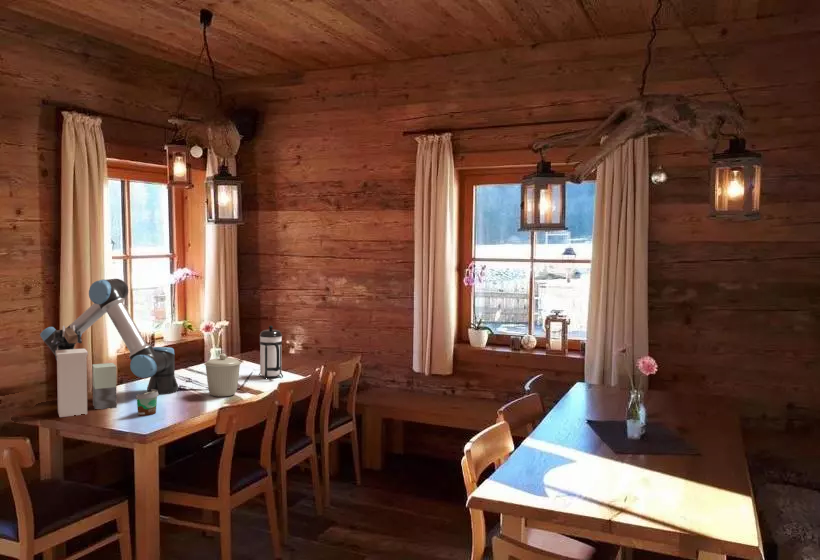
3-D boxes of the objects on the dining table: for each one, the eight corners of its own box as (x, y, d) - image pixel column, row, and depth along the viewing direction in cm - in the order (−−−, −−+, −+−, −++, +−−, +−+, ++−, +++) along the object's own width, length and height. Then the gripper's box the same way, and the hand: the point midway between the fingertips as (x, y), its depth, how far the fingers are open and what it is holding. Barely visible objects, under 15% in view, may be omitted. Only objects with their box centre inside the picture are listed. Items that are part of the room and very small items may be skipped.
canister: (240, 398, 332) (240, 356, 331) (202, 399, 328) (202, 357, 327) (241, 390, 350) (241, 350, 349) (205, 391, 346) (205, 351, 345)
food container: (148, 417, 293) (148, 395, 293) (136, 416, 294) (135, 394, 294) (164, 411, 305) (164, 389, 305) (152, 410, 306) (152, 388, 306)
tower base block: (113, 403, 318) (113, 383, 318) (116, 407, 310) (116, 387, 309) (92, 405, 314) (92, 384, 313) (95, 410, 305) (95, 389, 305)
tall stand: (85, 408, 308) (85, 348, 306) (88, 414, 297) (87, 352, 296) (56, 411, 301) (55, 350, 300) (58, 417, 291) (57, 354, 290)
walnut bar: (71, 335, 321) (71, 327, 321) (77, 342, 297) (77, 335, 297) (63, 335, 319) (63, 328, 319) (68, 343, 295) (68, 335, 295)
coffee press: (251, 378, 379) (251, 326, 377) (266, 373, 394) (266, 323, 392) (278, 381, 374) (278, 328, 372) (292, 375, 389) (292, 324, 387)
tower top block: (113, 383, 318) (113, 362, 317) (116, 387, 309) (116, 366, 309) (92, 384, 313) (92, 364, 313) (95, 389, 305) (94, 368, 304)
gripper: (84, 352, 333) (89, 334, 315) (47, 355, 324) (49, 336, 307) (83, 338, 336) (88, 319, 318) (46, 340, 327) (48, 321, 309)
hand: (69, 328), depth 312 cm, fingers closed on walnut bar, 3 cm apart
